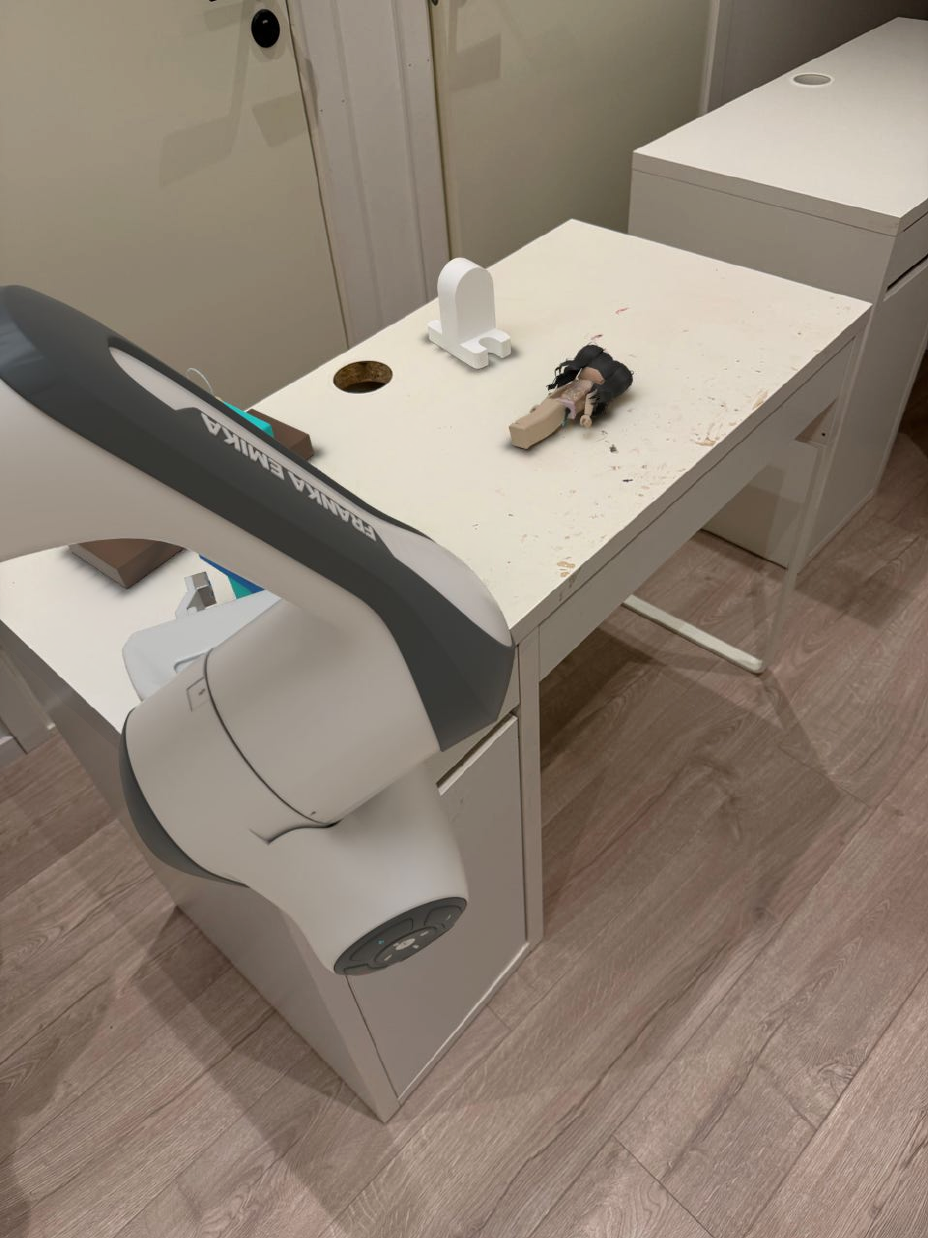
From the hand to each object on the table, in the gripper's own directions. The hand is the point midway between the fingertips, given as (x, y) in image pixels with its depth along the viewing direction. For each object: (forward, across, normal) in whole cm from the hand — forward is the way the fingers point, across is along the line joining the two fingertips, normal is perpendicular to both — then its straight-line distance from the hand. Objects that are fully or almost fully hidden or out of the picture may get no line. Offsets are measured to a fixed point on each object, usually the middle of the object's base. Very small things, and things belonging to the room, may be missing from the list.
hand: (265, 559), depth 61 cm
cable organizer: (+42, -31, +14) cm, 54 cm away
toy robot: (+6, 0, +14) cm, 15 cm away
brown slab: (+28, +4, +14) cm, 31 cm away
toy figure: (+22, -35, +14) cm, 44 cm away
